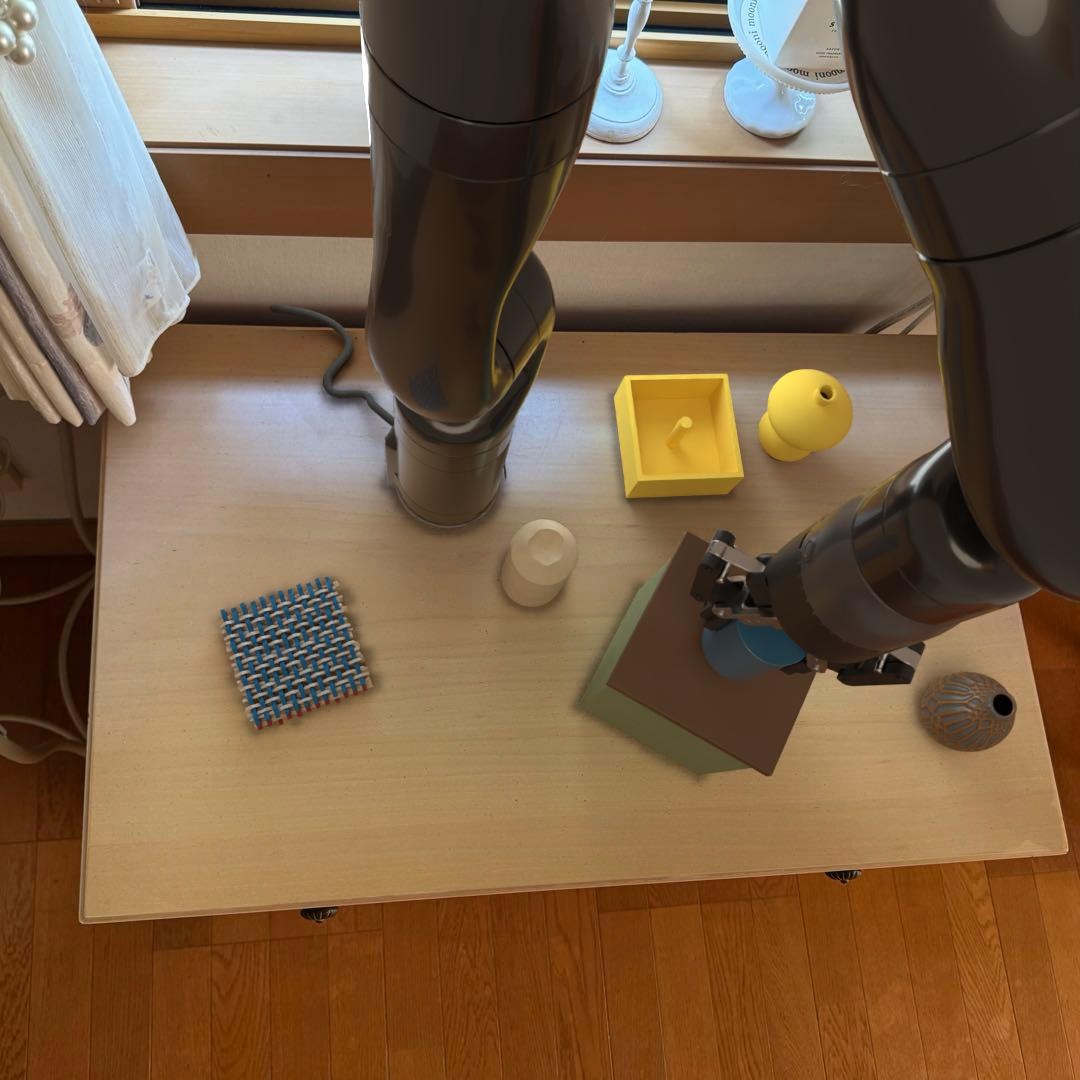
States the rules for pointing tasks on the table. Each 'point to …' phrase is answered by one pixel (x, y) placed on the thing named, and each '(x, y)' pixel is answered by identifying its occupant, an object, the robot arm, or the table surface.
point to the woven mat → (293, 653)
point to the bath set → (718, 429)
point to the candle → (538, 562)
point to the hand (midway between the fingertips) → (750, 637)
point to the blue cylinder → (749, 650)
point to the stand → (689, 682)
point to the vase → (968, 711)
